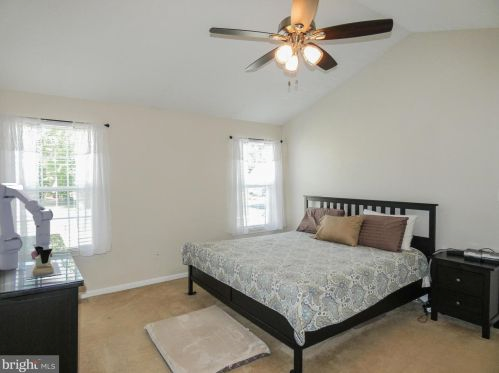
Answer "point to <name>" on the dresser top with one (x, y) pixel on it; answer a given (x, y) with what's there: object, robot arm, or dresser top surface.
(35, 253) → the video game controller
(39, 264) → the sage block
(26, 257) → the dresser top surface
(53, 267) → the blueprint board
